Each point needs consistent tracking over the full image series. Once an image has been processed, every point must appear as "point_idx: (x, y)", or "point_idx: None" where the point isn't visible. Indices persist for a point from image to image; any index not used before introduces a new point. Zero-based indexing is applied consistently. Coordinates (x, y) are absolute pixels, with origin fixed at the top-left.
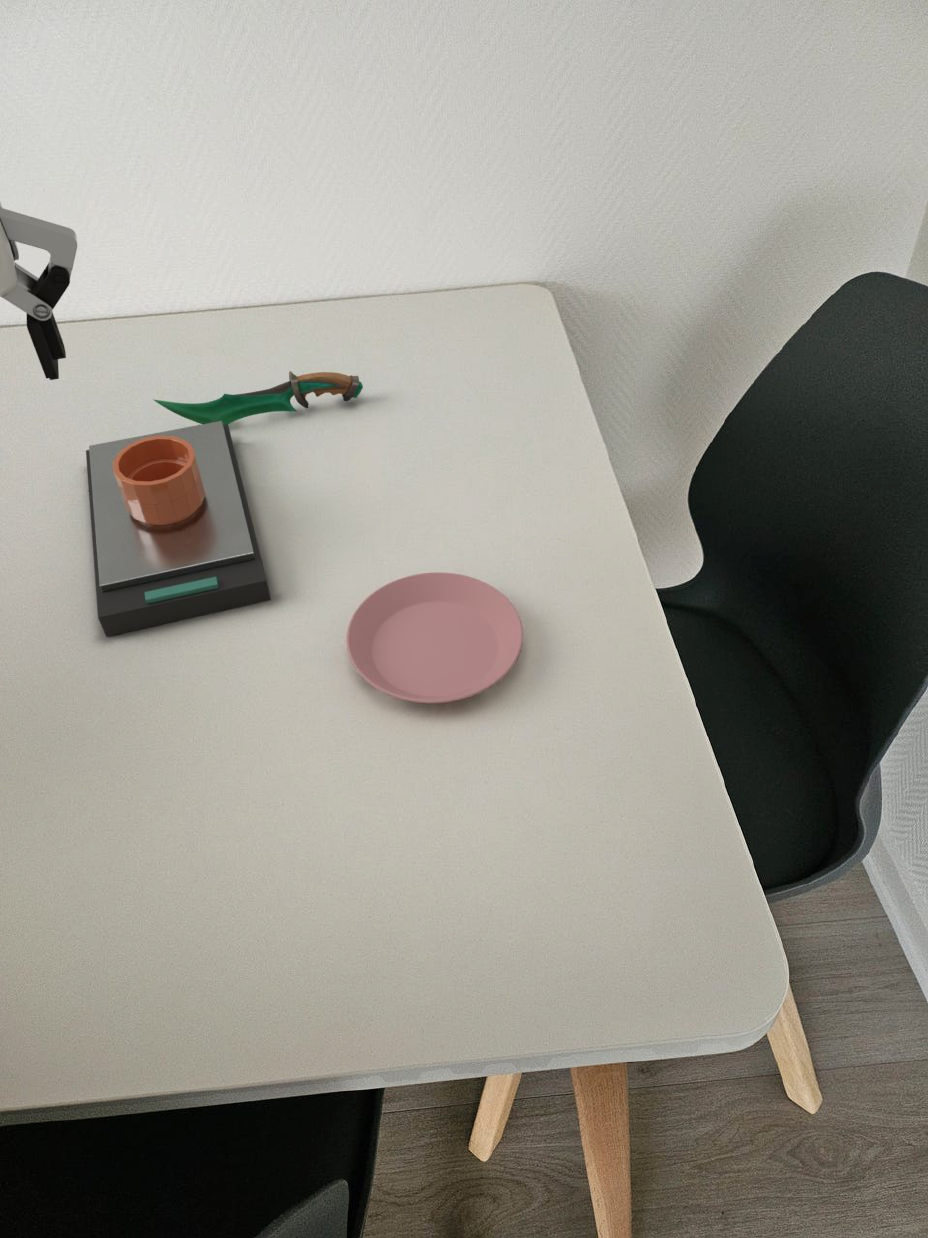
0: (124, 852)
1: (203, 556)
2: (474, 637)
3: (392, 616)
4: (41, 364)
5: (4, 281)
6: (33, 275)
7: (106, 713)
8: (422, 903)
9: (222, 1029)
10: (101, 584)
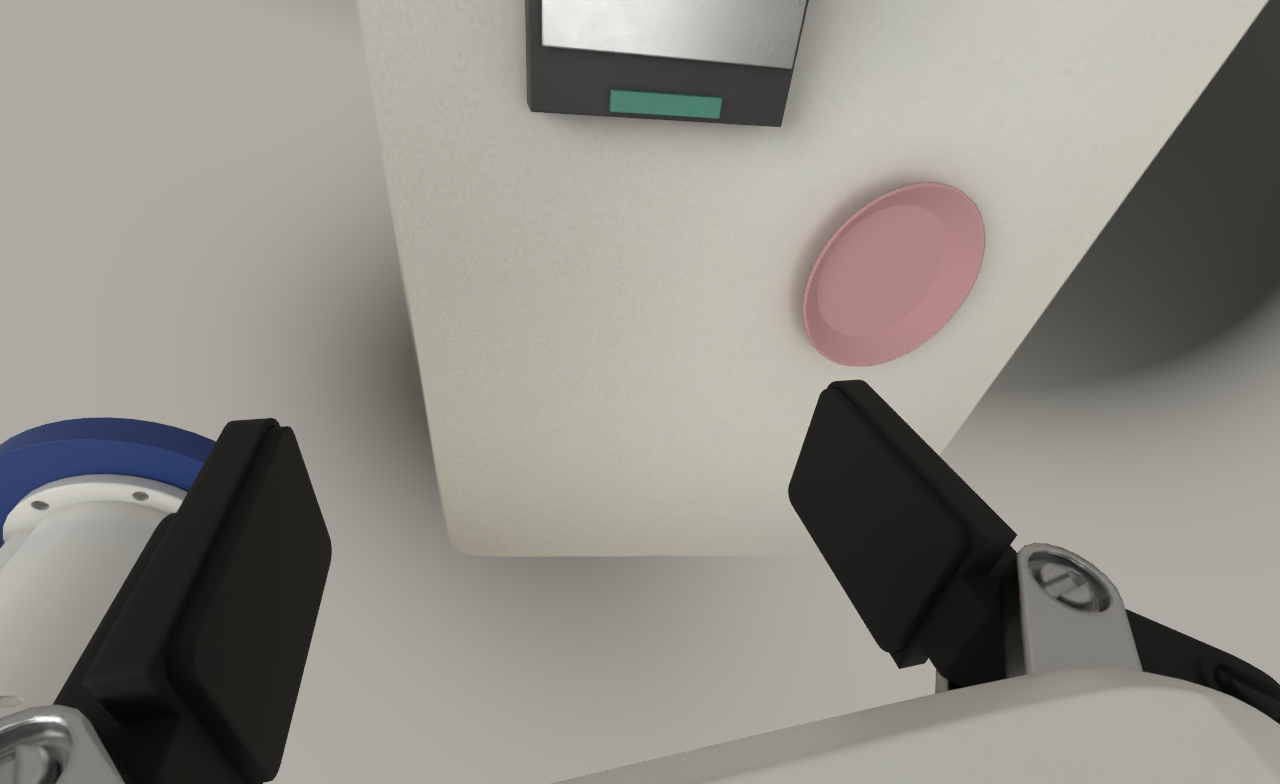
0: (534, 416)
1: (720, 42)
2: (918, 273)
3: (872, 214)
4: (812, 534)
5: None
6: (1133, 663)
7: (523, 252)
8: (737, 486)
9: (590, 534)
10: (545, 43)
